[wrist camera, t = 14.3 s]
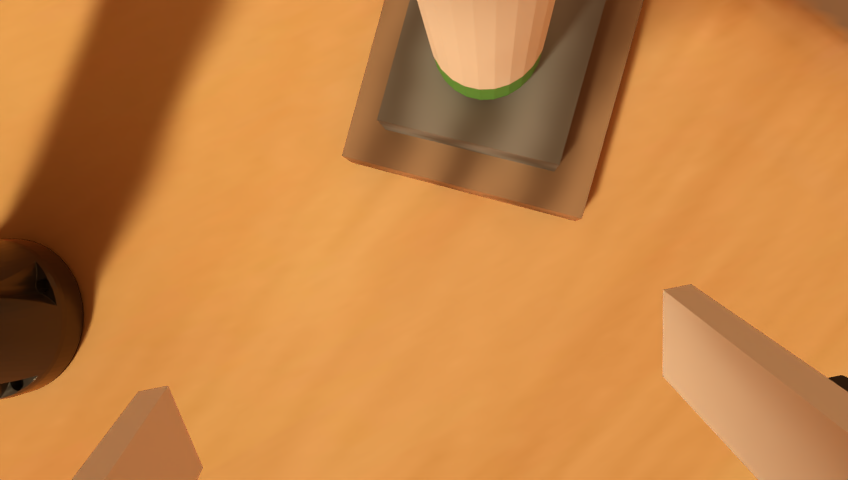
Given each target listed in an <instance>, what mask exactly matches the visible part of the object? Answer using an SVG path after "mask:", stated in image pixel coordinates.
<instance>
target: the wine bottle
mask: <svg viewBox="0 0 848 480" xmlns="http://www.w3.org/2000/svg"><path fill="white" fill-rule="evenodd" d="M417 2H418V5H419V9H420V12H421V16H422V19H423V22H424V26H425V29H426V33H427V36H428V40H429V43H430V46H431V50H432V53H433V56H434V58H435V62H436V65H437V68H438V70H439V71H440V73H441V75H442V77H443V78H444V80H445V81H446V82H447V83H448V84H449V85H450V86H451V87H452V88H453V89H454V90H455V91H457V92H459V93H461V94H463V95H464V96H466V97H470V98H474V99H479V100H492V99H497V98H501V97H504V96H507V95H509V94H511V93H512V92H514V91H516V90H517V89H519V88H520V87H521V86H522V85H523V84H524V83H525V82H526V81H527V80H528V79H529V78H530V77H531V76H532V74H533V72H534V70H535V69H536V67H537V65H538V63H539V60H540V57H541V53H542V50H543V47H544V43H545V39H546V36H547V32H548V28H549V24H550V20H551V16H552V12H553V8H554V4H555V0H417Z"/></svg>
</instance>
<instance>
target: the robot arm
mask: <svg viewBox="0 0 848 480" xmlns="http://www.w3.org/2000/svg"><path fill="white" fill-rule="evenodd" d="M82 326H83V307H82V300H81V295H80V291H79V288H78V286H77V283H76V281H75V279H74V277H73V275H72V273H71V271H70V270H69V268H68V267H67V266H66V264H65V263H64V262H63V261H62V260H61V259H60V258H59V257H58V256H57V255H56V254H55V253H54V252H52V251H51V250H50V249H48V248H46V247H45V246H43V245H40V244H38V243H35V242H32V241H28V240H21V239H0V399H5V398H10V397H14V396H18V395H21V394H24V393H27V392H31V391H34V390H37V389H39V388H41V387H44V386H45V385H47V384H49V383H50V382H52V381H53V380H54V379H55V378H57V377H58V376H59V375H60V374H61V373H62V372H63V371H64V369H65V368H66V367H67V365H68V364H69V363H70V361H71V359H72V358H73V356H74V354H75V352H76V349H77V347H78V344H79V341H80V337H81V333H82ZM663 377H664V378H665V379H666V380H667V381H668V382H669V384H670V385H671V386H672V387H673V388H674V389H675V390H676V391H677V392H678V393H679V394H680V395H681V397H682V398H683V399H684V400H685V401H686V402H687V403H688V404H689V405H690V406H691V407H692V408H693V410H694V411H695V412H696V413H697V414H698V415H699V416H700V417H701V418H702V419H703V420H704V421H705V423H706V424H707V425H708V426H709V427H710V428H711V429H712V430H713V431H714V432H715V433H716V434H717V436H718V437H719V438H720V439H721V440H722V441H723V442H724V443H725V444H726V445H727V446H728V447H729V449H730V450H731V451H732V452H733V453H734V454H735V455H736V456H737V457H738V458H739V459H740V460H741V462H742V463H743V464H744V465H745V466H746V467H747V468H748V469H749V470H750V471H751V472H752V473H753V475H754V476H755V477H756V478H757V479H758V480H848V378H847V377H845V376H842V375H840V376H835V377H830V378H827V377H826V376H824V375H823V374H821V373H820V372H818V371H817V370H815V369H814V368H812V367H811V366H809V365H808V364H807V363H805V362H804V361H802V360H801V359H799V358H798V357H796V356H795V355H793V354H792V353H791V352H789V351H788V350H786V349H785V348H783V347H782V346H780V345H779V344H777V343H776V342H775V341H773V340H772V339H770V338H769V337H767V336H766V335H764V334H763V333H761V332H760V331H759V330H757V329H756V328H754V327H753V326H751V325H750V324H748V323H747V322H745V321H744V320H743V319H741V318H740V317H738V316H737V315H735V314H734V313H732V312H731V311H729V310H728V309H727V308H725V307H724V306H722V305H721V304H719V303H718V302H716V301H715V300H713V299H712V298H710V297H709V296H708V295H706V294H705V293H703V292H702V291H700V290H699V289H697V288H696V287H694V286H693V285H692V284H690V285H685V286H680V287H675V288H669V289H664V290H663ZM202 468H203V467H202V464H201V462H200V460H199V457H198V455H197V453H196V450H195V448H194V445H193V443H192V441H191V438H190V436H189V434H188V431H187V429H186V427H185V424H184V422H183V420H182V417H181V415H180V413H179V410H178V408H177V406H176V403H175V401H174V399H173V396H172V394H171V391H170V389H169V387H168V386H164V387H159V388H154V389H149V390H144V391H139V392H138V393H137V394H136V395H135V397H134V398H133V399H132V401H131V402H130V403H129V405H128V406H127V407H126V409H125V410H124V411H123V413H122V414H121V415H120V417H119V418H118V419H117V421H116V422H115V423H114V424H113V426H112V427H111V428H110V430H109V431H108V432H107V434H106V435H105V436H104V438H103V439H102V440H101V442H100V443H99V444H98V446H97V447H96V448H95V450H94V451H93V452H92V454H91V455H90V456H89V458H88V459H87V460H86V461H85V463H84V464H83V465H82V467H81V468H80V469H79V471H78V472H77V473H76V475H75V476H74V477H73V479H72V480H197V479H198V477H199V475H200V473H201V471H202Z"/></svg>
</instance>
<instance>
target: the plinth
mask: <svg viewBox="0 0 848 480" xmlns="http://www.w3.org/2000/svg"><path fill="white" fill-rule="evenodd" d="M643 1H644V0H555V4H554V8H553V12H552V16H551V20H550V24H549V28H548V32H547V36H546V39H545V43H544V47H543V50H542V53H541V57H540V60H539V63H538V65H537V67H536V69H535V70H534V72H533V74H532V76H531V77H530V78H529V79H528V80H527V81H526V82H525V83H524V84H523V85H522V86H521V87H520V88H519V89H517V90H516V91H514V92H512V93H511V94H509V95H507V96H504V97H501V98H497V99H492V100H479V99H474V98H470V97H466V96H464V95H463V94H461V93H459V92H457V91H455V90H454V89H453V88H452V87H451V86H450V85H449V84H448V83H447V82H446V81H445V80H444V78H443V77H442V75H441V73H440V71H439V70H438V68H437V65H436V62H435V58H434V56H433V53H432V50H431V46H430V43H429V40H428V36H427V33H426V29H425V26H424V22H423V19H422V16H421V12H420V9H419V5H418V2H417V0H385V1H384V4H383V8H382V12H381V15H380V19H379V23H378V26H377V30H376V34H375V37H374V41H373V44H372V48H371V52H370V55H369V59H368V63H367V66H366V70H365V74H364V77H363V81H362V85H361V88H360V92H359V96H358V99H357V103H356V107H355V110H354V114H353V118H352V121H351V125H350V128H349V132H348V136H347V139H346V143H345V147H344V150H343V154H342V156H343V157H345V158H346V159H348V160H349V161H351V162H352V163H356V164H360V165H364V166H368V167H372V168H375V169H379V170H383V171H387V172H391V173H394V174H398V175H402V176H406V177H410V178H414V179H417V180H421V181H425V182H429V183H433V184H436V185H440V186H444V187H448V188H452V189H456V190H459V191H463V192H467V193H471V194H475V195H478V196H482V197H486V198H490V199H494V200H497V201H501V202H505V203H509V204H513V205H517V206H520V207H524V208H528V209H532V210H536V211H539V212H543V213H547V214H551V215H555V216H559V217H562V218H566V219H570V220H574V221H576V220H579V219H582V216H583V213H584V209H585V206H586V202H587V199H588V195H589V192H590V188H591V185H592V181H593V178H594V174H595V171H596V167H597V163H598V160H599V156H600V153H601V149H602V146H603V142H604V139H605V135H606V132H607V128H608V125H609V121H610V117H611V114H612V110H613V107H614V103H615V100H616V96H617V93H618V89H619V86H620V82H621V79H622V75H623V72H624V68H625V64H626V61H627V57H628V54H629V50H630V47H631V43H632V40H633V36H634V33H635V29H636V26H637V22H638V18H639V15H640V11H641V8H642V4H643Z"/></svg>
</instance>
